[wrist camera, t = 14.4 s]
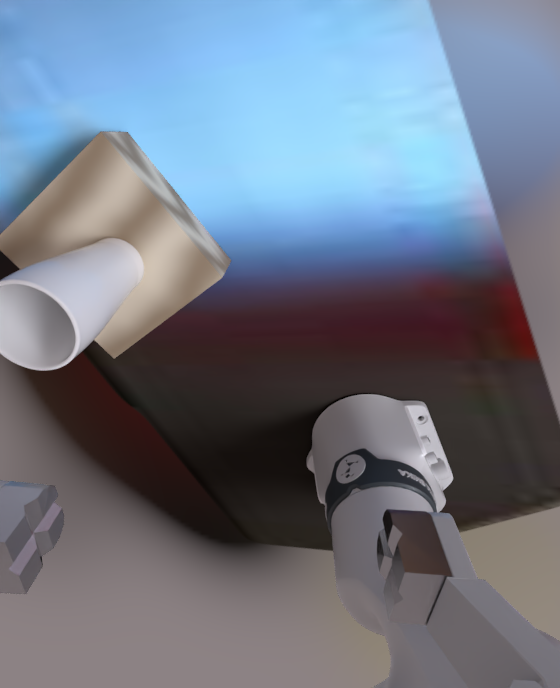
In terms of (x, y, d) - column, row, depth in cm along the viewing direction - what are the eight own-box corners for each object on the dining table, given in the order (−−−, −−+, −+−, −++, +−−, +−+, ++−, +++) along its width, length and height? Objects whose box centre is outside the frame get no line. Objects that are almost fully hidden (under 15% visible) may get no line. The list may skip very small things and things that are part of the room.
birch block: (231, 260, 45) (222, 277, 40) (133, 334, 50) (114, 358, 45) (127, 132, 39) (100, 131, 34) (29, 229, 44) (-8, 242, 39)
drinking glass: (97, 298, 41) (1, 375, 28) (75, 232, 38) (-45, 283, 25) (160, 292, 41) (94, 369, 27) (143, 225, 38) (58, 274, 24)
